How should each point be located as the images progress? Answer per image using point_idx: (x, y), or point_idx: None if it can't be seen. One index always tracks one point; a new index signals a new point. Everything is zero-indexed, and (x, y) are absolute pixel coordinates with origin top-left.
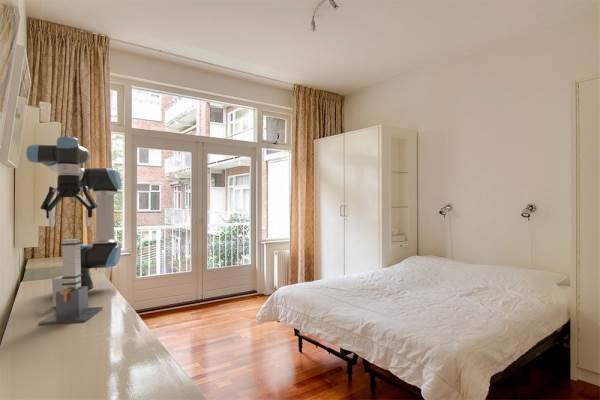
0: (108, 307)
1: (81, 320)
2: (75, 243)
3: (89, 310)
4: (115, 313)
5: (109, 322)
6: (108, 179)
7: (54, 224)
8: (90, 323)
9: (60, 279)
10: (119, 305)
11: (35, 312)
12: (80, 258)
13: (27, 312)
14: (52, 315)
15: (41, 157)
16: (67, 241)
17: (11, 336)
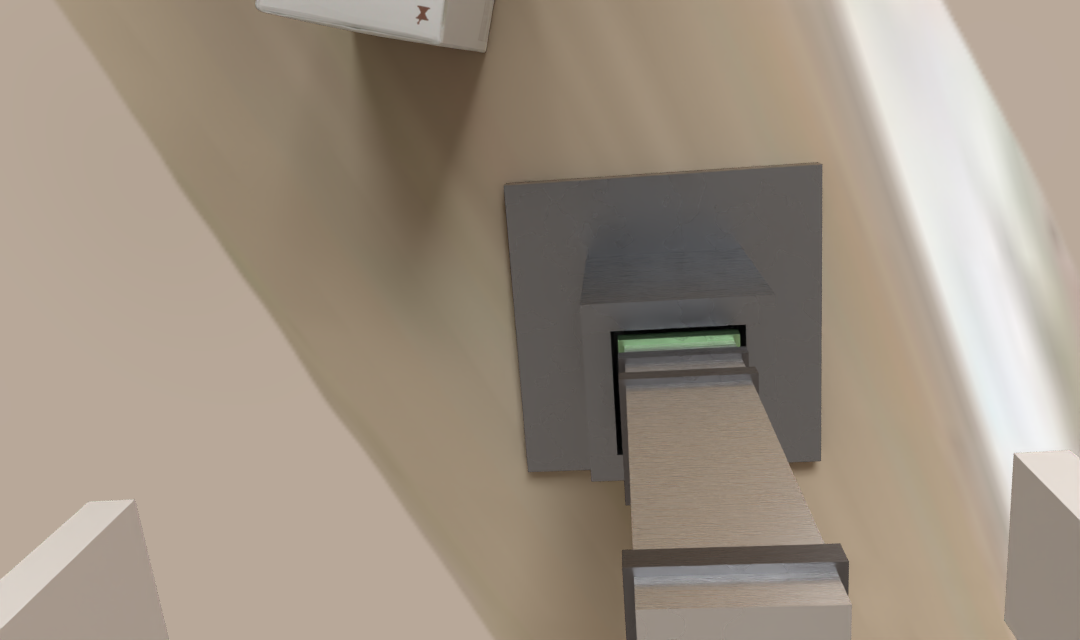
0: (851, 122)
1: (792, 458)
2: None
3: (757, 259)
4: (968, 301)
5: (990, 493)
6: None
7: (112, 529)
8: (864, 489)
9: (360, 30)
10: (930, 75)
11: (307, 163)
12: (782, 450)
13: (242, 152)
14: (530, 335)
15: None
16: None
17: (493, 620)
